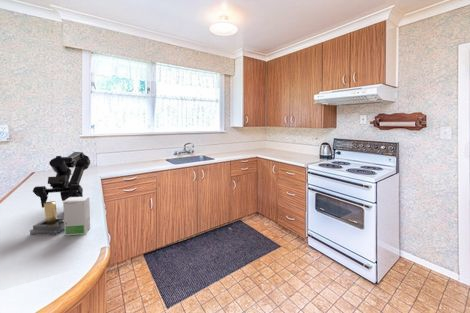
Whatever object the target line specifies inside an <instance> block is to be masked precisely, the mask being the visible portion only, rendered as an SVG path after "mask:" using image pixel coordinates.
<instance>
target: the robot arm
mask: <svg viewBox="0 0 470 313" xmlns="http://www.w3.org/2000/svg"><path fill="white" fill-rule="evenodd" d="M48 164H49V166H50V167H51V169H52V170H53V172H54V173H56V175H55V176H48V177H47V184H48V185H49V186H50V187H51V188H47V187H46V186H45V185H44V186H43V185H41V186H38V185H36V186H35V187H33V189H32V192H33V194H34V195H36V197H39V198H40V204H41V208H42V209H44V203H46V202H48V201H47V200H48V197H49V196H48V195H49V193H51V194H52V193H60V194H59V195H60V199H61V202H63V201H65V200H66V199H68V198H69V197H84V195H83V192H84V191H83V190H84V189H83V187H82V186H81V184H80V183H81V180H82V177H83V175H84V171H85V170H88V169H89V166H90V165H91V159H90V158H89V155H86V154H84V152H82V151H74V152H72V153H71V154H69V155H68V156H62V155H56V156H55V157H53V158H52V159H50V160H49V163H48ZM73 168H74V169H73ZM71 169H73V172H72V170H71Z"/></svg>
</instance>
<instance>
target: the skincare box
mask: <svg viewBox="0 0 470 313" xmlns="http://www.w3.org/2000/svg"><path fill="white" fill-rule="evenodd" d="M62 203H63V205H62V206H63V218H64V236H65V237H66V236H77V235H79V234H80V235H86V234H87V233H88V232H89V231H90V229H91V212H90V210H91V209H90V196H83V197H69V198H68V199H66V200H65V201H62ZM87 231H88V232H87ZM80 235H79V236H80Z"/></svg>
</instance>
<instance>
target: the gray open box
mask: <svg viewBox="0 0 470 313" xmlns="http://www.w3.org/2000/svg"><path fill="white" fill-rule="evenodd" d="M63 229H64V217H57V223H55V224H54V225H46V219H44V220H41V221H40V222H38V223H36V224H34V225H32V228H31V229H30V230H29V235H30V236H55V235H57V234H59V233H60V232H62V231H63ZM61 230H62V231H61ZM64 230H65V229H64ZM59 231H60V232H59ZM58 232H59V233H58ZM56 233H57V234H56Z"/></svg>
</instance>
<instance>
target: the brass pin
mask: <svg viewBox="0 0 470 313" xmlns="http://www.w3.org/2000/svg"><path fill="white" fill-rule="evenodd" d="M43 209H44V216H45V217H44V220H46V225H54V224H55V223H57V218H58V214H57V203H56V201H54V200H53V201H52V200H51V201H46V203H44V208H43Z"/></svg>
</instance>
